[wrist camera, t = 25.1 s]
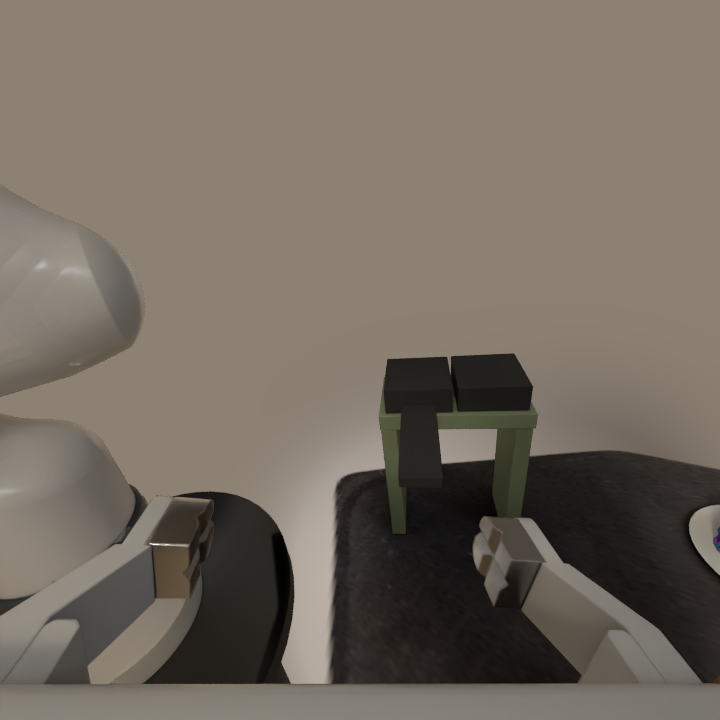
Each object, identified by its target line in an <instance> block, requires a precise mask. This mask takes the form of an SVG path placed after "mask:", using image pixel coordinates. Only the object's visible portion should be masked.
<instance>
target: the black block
mask: <svg viewBox="0 0 720 720" xmlns="http://www.w3.org/2000/svg"><path fill="white" fill-rule="evenodd" d="M451 380H452V385H453V390H454V395H455V400H456V405H457V410H458V412H481V411H530V405H531V397H532V390H533V386H532V384H531V382H530V381H529V379H528V377H527V375H526V374H525V372H524V370H523V368H522V366H521V365H520V363H519V361H518V359H517V358H516V356H515V354H492V355H473V356H472V355H471V356H470V355H469V356H452V357H451Z"/></svg>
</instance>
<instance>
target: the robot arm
mask: <svg viewBox="0 0 720 720" xmlns="http://www.w3.org/2000/svg"><path fill="white" fill-rule="evenodd" d="M144 317H145V299H144V294H143V290H142V286H141V284H140V281H139V279H138V277H137V274H136V273H135V271H134V269H133V268H132V266H131V265H130V263H129V262H128V261H127V259H126V258H125V257H124V256H123V255H122V254H121V253H120V252H119V251H118V249H116V248H115V247H114V246H113V245H112V244H111V243H110V242H108V241H107V240H106V239H104V238H103V237H101V236H100V235H98V234H97V233H95V232H93V231H92V230H90V229H88V228H86V227H84V226H82V225H80V224H78V223H76V222H73V221H70V220H68V219H65V218H63V217H60V216H57V215H55V214H53V213H51V212H49V211H46V210H44V209H42V208H40V207H38V206H36V205H34V204H32V203H30V202H28V201H27V200H25V199H23V198H21V197H20V196H18V195H16V194H15V193H13V192H11V191H10V190H8V189H7V188H5V187H4V186H2V185H0V397H2V396H5V395H9V394H12V393H15V392H19V391H22V390H26V389H29V388H32V387H36V386H39V385H43V384H46V383H49V382H53V381H56V380H59V379H63V378H66V377H70V376H72V375H74V374H77V373H79V372H81V371H83V370H85V369H87V368H90V367H92V366H94V365H96V364H98V363H100V362H103V361H105V360H107V359H108V358H111V357H113V356H115V355H116V354H118V353H120V352H122V351H124V350H126V349H128V348H130V347H132V346H133V345H134V343H135V341H136V340H137V338H138V336H139V334H140V331H141V329H142V326H143V322H144ZM212 513H213V501H212V500H209V499H197V498H185V497H168V496H156V497H154V498H153V499H152V500H151V502H150V503H149V504H148V503H147V501H146V500H145V498H144V497H143V496H142V495H141V494H140V493H139V491H138V490H137V489H136V488H135V487H134V486H132V485H130V484H128V483H127V481H126V479H125V477H124V476H123V474H122V472H121V471H120V469H119V467H118V466H117V464H116V462H115V460H114V459H113V457H112V455H111V454H110V452H109V450H108V449H107V447H106V445H105V444H104V442H103V440H102V439H101V438H100V437H99V436H98V435H96V434H95V433H94V432H92V431H91V430H89V429H87V428H85V427H83V426H81V425H78V424H76V423H73V422H69V421H64V420H54V419H29V418H18V417H13V416H9V415H5V414H2V413H0V720H720V683H702V682H701V680H700V679H699V678H698V677H697V675H696V674H695V673H694V672H693V671H692V669H691V668H690V667H689V666H688V664H687V663H686V662H685V661H684V659H683V658H682V657H681V656H680V655H679V653H678V652H677V651H676V650H675V648H674V647H673V646H672V645H671V643H670V642H669V641H668V640H667V639H666V637H665V636H664V635H663V634H662V632H661V631H660V630H659V629H658V628H656V627H655V626H654V625H652V624H651V623H649V622H648V621H647V620H645V619H644V618H643V617H641V616H640V615H638V614H637V613H636V612H634V611H633V610H631V609H630V608H629V607H627V606H626V605H625V604H623V603H622V602H620V601H619V600H618V599H616V598H615V597H614V596H612V595H611V594H609V593H608V592H607V591H605V590H604V589H602V588H601V587H600V586H598V585H597V584H596V583H594V582H593V581H591V580H590V579H589V578H587V577H586V576H584V575H583V574H582V573H580V572H579V571H578V570H576V569H575V568H573V567H572V566H571V565H569V564H564V563H563V562H562V560H561V559H560V558H559V556H558V555H557V553H556V552H555V550H554V549H553V548H552V546H551V545H550V543H549V542H548V540H547V539H546V537H545V536H544V535H543V533H542V532H541V530H540V529H539V527H538V526H537V524H536V523H535V522H534V521H533V520H532V519H530V518H512V517H493V516H484V517H483V518H482V519H481V521H480V524H479V527H480V529H481V532H480V533H479V534H478V535H476V536H475V538H474V542H473V558H474V562H475V565H476V567H477V570H478V571H479V572H480V573H481V574H483V575H484V576H485V577H486V578H485V581H484V586H485V588H486V591H487V593H488V595H489V598H490V600H491V602H492V605H493V607H507V608H522V609H521V610H522V612H523V613H524V614H525V615H526V616H527V617H528V618H529V619H530V620H531V621H532V622H533V623H534V624H535V625H536V627H537V628H538V629H539V630H540V631H541V632H542V633H543V634H544V635H545V636H546V637H547V638H548V639H549V641H550V642H551V643H552V644H553V645H554V646H555V647H556V648H557V649H558V650H559V651H560V652H561V653H562V655H563V656H564V657H565V658H566V659H567V660H568V661H569V662H570V663H571V664H572V665H573V666H574V667H575V668H576V670H577V671H578V672H579V673H580V674H581V675H582V676H581V677H580V679H579V681H578V683H577V684H143V683H144V682H145V681H146V680H148V679H149V678H150V677H151V676H152V675H153V674H154V673H155V672H157V671H158V670H159V669H160V668H161V667H162V666H163V665H164V663H165V662H166V661H167V660H168V659H169V658H170V657H171V655H172V654H173V653H174V652H175V650H176V649H177V648H178V646H179V645H180V644H181V642H182V641H183V639H184V638H185V636H186V634H187V633H188V631H189V629H190V627H191V625H192V623H193V621H194V619H195V617H196V614H197V612H198V609H199V605H200V602H201V597H202V577H201V573H200V564H201V563H202V562H203V561H204V560H205V559H206V558H207V555H208V552H209V549H210V545H211V541H212V536H213V522H212V520H211V519H210V518H211V515H212Z"/></svg>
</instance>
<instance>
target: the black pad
mask: <svg viewBox="0 0 720 720" xmlns="http://www.w3.org/2000/svg"><path fill="white" fill-rule="evenodd" d="M383 393H384V403H385V413H386V414H388V413H401V423H400V445H399V466H398V483H399V487H408V488H443V473H442V463H441V454H440V443H439V434H438V424H437V414H436V413H452V412H453V386H452V380H451V375H450V371H449V365H448V359H447V357H431V358H430V357H429V358H406V359H388V360H387V367H386V375H385V382H384V389H383Z"/></svg>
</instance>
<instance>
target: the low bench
mask: <svg viewBox="0 0 720 720" xmlns="http://www.w3.org/2000/svg"><path fill="white" fill-rule="evenodd" d="M384 382H385V377H384V381H383V389H384ZM452 386H453V385H452ZM383 389H382V397H381V405H380V412H379V422H380V430H381V433H382V442H383V451H384V460H385V469H386V478H387V487H388V496H389V505H390V513H391V522H392V531H393V534H406V487H399V483H398V466H399V445H400V423H401V413H388V414H386V413H385V403H384V393H383ZM436 414H437V424H438V429H498V430H497V442H496V454H495V466H494V478H493V490H492V495H493V499H494V503H495V507H496V511H497V515H498V517H512V518H521V511H522V504H523V497H524V490H525V483H526V476H527V469H528V462H529V455H530V448H531V441H532V434H533V428H536V424H537V417H538V414H537V412H536V410H535V408H534V406H533V404H532V403H531V405H530V411H481V412H458V410H457V405H456V400H455V395H454V390H453V412H452V413H436Z"/></svg>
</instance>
